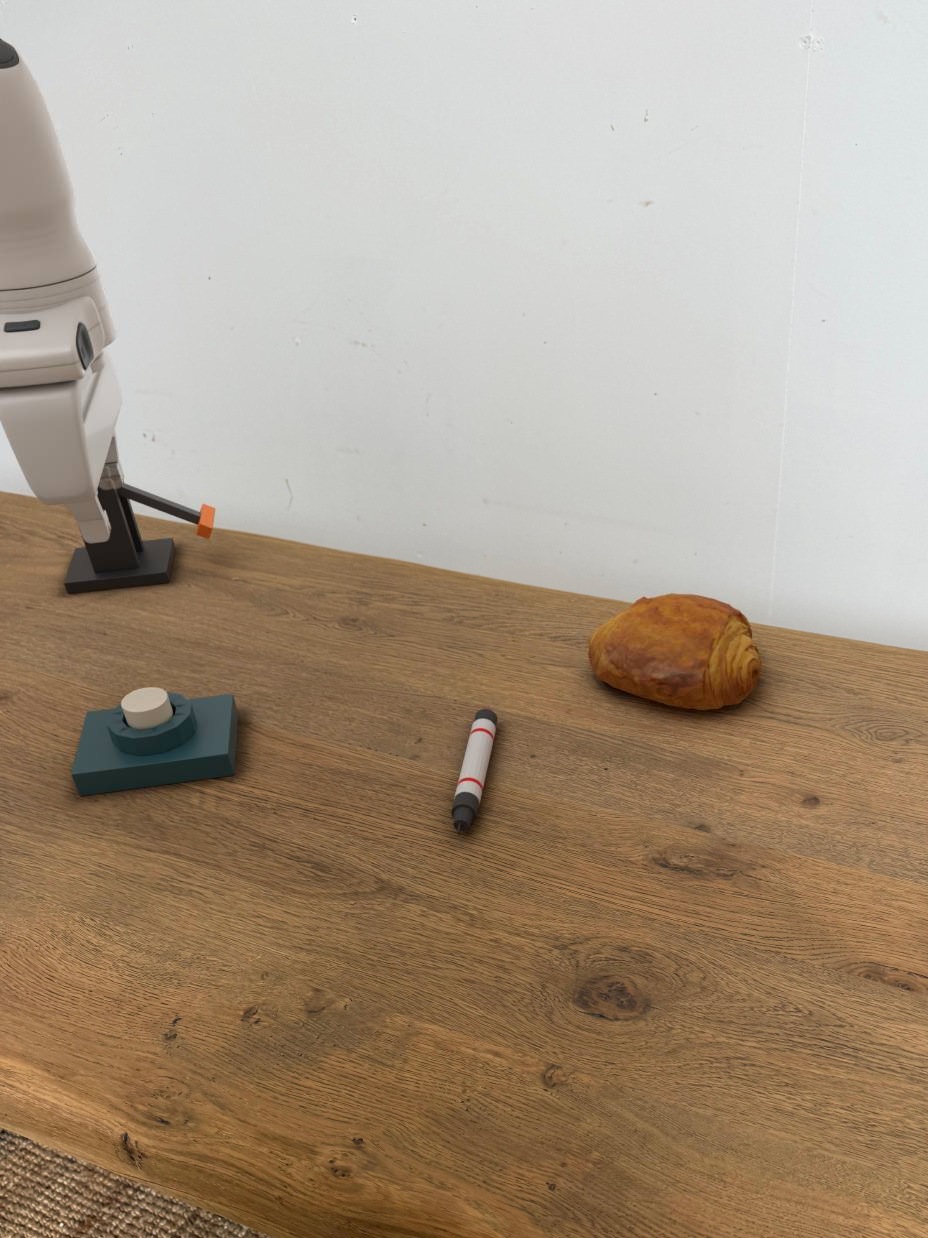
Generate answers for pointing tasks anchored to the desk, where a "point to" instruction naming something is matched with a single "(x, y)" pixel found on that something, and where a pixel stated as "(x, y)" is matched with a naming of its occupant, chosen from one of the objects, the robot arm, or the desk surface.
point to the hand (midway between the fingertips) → (106, 511)
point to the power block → (157, 746)
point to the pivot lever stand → (119, 553)
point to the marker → (474, 770)
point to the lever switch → (173, 508)
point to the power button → (147, 708)
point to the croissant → (678, 652)
